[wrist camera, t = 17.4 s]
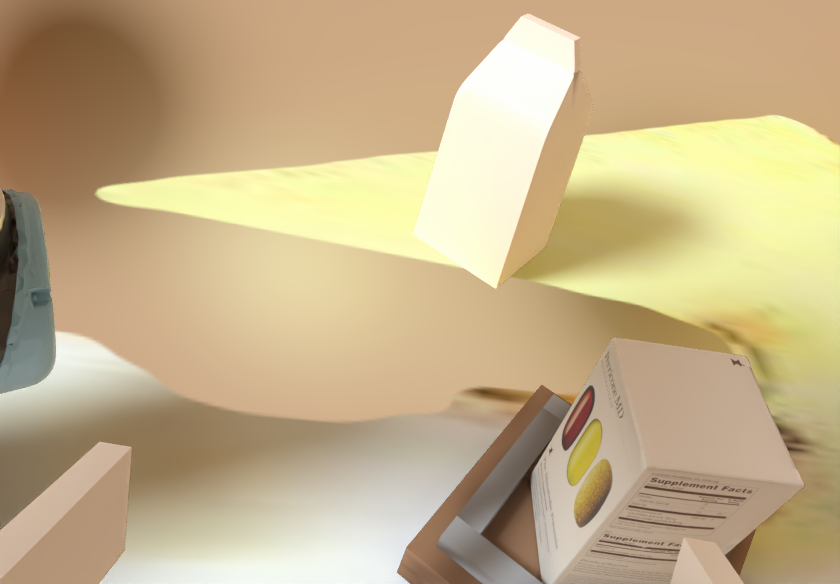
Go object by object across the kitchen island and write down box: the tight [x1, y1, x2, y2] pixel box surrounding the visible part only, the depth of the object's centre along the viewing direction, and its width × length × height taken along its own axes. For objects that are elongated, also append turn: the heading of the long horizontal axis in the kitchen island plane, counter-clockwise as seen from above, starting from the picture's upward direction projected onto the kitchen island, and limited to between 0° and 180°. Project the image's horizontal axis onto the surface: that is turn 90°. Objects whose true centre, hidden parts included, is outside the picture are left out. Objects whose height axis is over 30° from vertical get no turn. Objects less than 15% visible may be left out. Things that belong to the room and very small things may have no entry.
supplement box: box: [530, 337, 805, 584], centre depth 43 cm, size 10×9×17 cm
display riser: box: [397, 385, 756, 584], centre depth 50 cm, size 20×20×6 cm
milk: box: [413, 14, 593, 289], centre depth 70 cm, size 12×12×26 cm
